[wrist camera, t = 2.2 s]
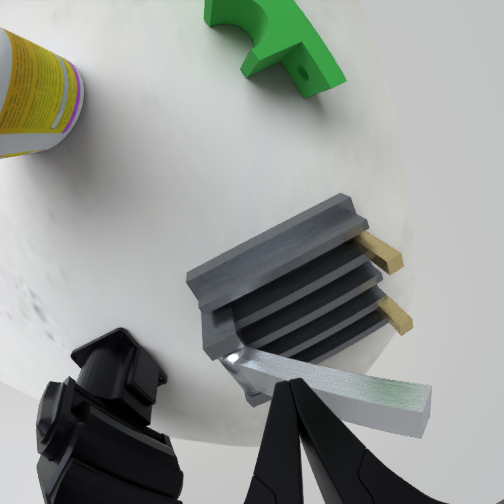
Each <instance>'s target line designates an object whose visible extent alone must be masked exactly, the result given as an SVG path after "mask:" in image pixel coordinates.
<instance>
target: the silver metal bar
mask: <svg viewBox="0 0 504 504" xmlns="http://www.w3.org/2000/svg"><path fill="white" fill-rule="evenodd" d="M243 342H244V341H243ZM218 359H219V361H220V362H221V363H222V364H223V366H224V367H225V368H226V369H227V370H228V372H229V373H230V374H231V375H232V376H233V378H234V379H235V380H236V381H237V382H238V384H239V385H240V386H241V387H242V388H243V389H244V391H245V392H246V393H248V394H257V393H259V392H261V393H264V394H266V395H269V396H271V397H272V396H273V391H274V387H275V384H276V383H277V382H280V381H285V380H287V381H288V382H289V380H290V379H294V378H299V377H300V378H302V379H303V380H304V381H305V382H306V383H307V384H308V385H309V386H310V387H311V389H312V390H313V391H314V392H315V393H316V394H317V395H318V396H319V397H320V398H321V400H322V401H323V402H324V403H325V404H326V405H327V406H328V407H329V408H330V409H331V410H332V412H333V413H334V414H335V415H336V416H337V417H338V418H339V419H340V420H344V421H347V422H350V423H354V424H358V425H361V426H365V427H369V428H373V429H378V430H382V431H386V432H390V433H395V434H400V435H405V436H410V437H415V438H422V435H423V433H424V430H425V428H426V425H427V422H428V419H429V417H430V407H431V391H432V386H431V385H423V384H415V383H409V382H402V381H395V380H389V379H382V378H377V377H372V376H366V375H361V374H356V373H351V372H346V371H341V370H336V369H332V368H327V367H323V366H318V365H314V364H310V363H306V362H302V361H298V360H294V359H290V358H286V357H282V356H278V355H274V354H271V353H267V352H263V351H260V350H256V349H253V348H249V347H247V346H246V344H245V343H244V347H242V348H240V349H238V350H235V351H233V352H231V353H229V354H227V355H224V356H222V357H220V358H218Z"/></svg>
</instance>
